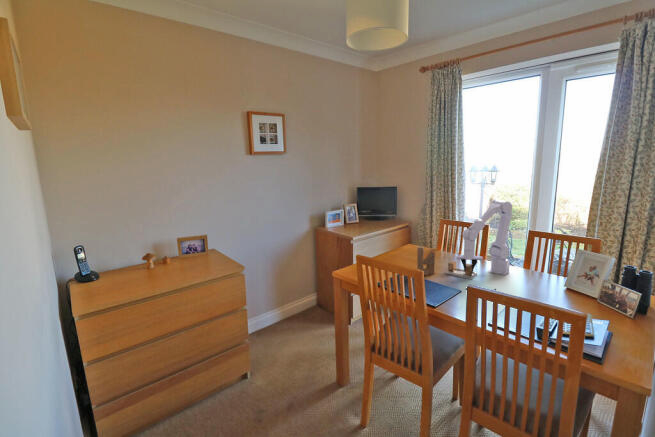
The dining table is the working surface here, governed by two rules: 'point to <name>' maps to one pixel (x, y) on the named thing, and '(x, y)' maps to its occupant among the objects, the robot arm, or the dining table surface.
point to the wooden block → (425, 261)
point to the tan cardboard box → (468, 269)
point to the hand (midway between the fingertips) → (468, 271)
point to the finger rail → (458, 271)
